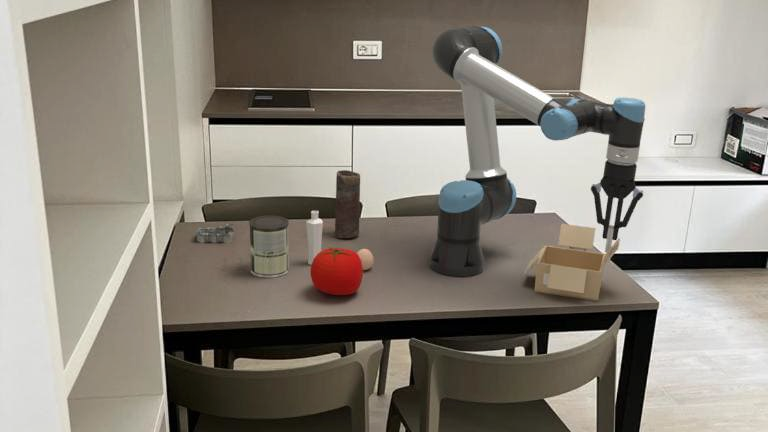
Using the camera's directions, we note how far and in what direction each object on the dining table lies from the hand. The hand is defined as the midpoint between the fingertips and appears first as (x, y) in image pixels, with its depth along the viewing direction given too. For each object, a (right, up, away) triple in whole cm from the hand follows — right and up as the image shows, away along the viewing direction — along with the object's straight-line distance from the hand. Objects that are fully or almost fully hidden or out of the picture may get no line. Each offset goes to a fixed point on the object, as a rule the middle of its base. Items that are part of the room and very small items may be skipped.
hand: (607, 250), depth 203 cm
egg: (-63, -6, +14) cm, 64 cm away
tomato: (-69, -11, -1) cm, 70 cm away
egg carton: (-107, +2, +33) cm, 112 cm away
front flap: (-11, -4, -3) cm, 11 cm away
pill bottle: (-2, -4, +25) cm, 25 cm away
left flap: (-16, -1, +6) cm, 17 cm away
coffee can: (-88, -6, +11) cm, 89 cm away
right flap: (-1, -3, +1) cm, 3 cm away
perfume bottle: (-76, -4, +17) cm, 78 cm away
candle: (-69, +3, +39) cm, 79 cm away
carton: (-9, -10, +6) cm, 14 cm away
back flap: (-6, 0, +10) cm, 12 cm away
